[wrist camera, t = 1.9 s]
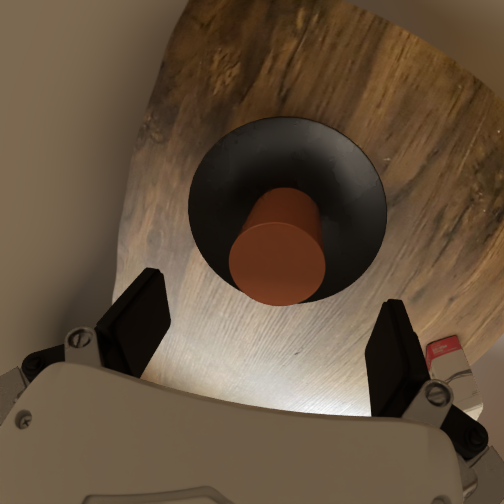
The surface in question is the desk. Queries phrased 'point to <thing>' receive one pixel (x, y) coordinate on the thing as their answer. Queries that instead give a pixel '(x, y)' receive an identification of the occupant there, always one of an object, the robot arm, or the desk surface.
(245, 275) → the orange cylinder
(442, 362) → the ink box
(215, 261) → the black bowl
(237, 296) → the desk surface
